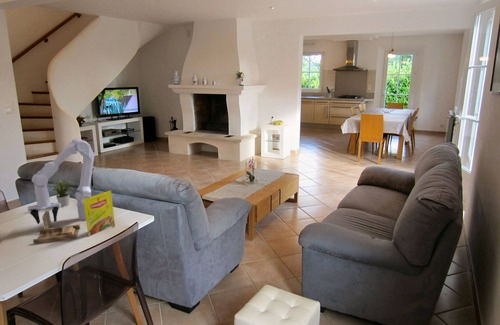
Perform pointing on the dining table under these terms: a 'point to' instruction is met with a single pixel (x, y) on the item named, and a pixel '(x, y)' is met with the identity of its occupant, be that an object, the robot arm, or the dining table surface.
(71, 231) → the oak offcut stack
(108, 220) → the food package
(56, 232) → the walnut rack
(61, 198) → the house plant
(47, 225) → the birch sheet
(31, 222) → the dining table surface
